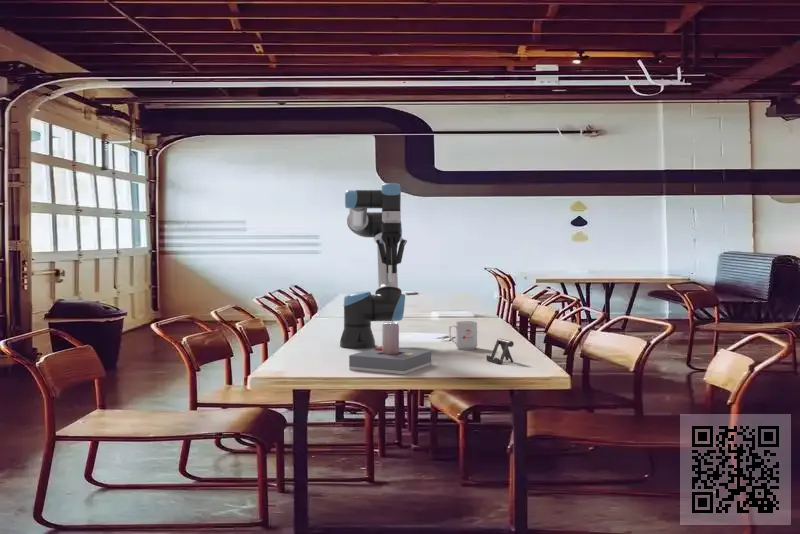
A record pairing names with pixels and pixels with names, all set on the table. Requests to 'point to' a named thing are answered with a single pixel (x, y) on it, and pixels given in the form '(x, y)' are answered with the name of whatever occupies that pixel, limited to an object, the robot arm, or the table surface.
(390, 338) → the beverage can
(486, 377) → the table surface
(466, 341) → the mug
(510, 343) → the portable electronic device stand
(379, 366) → the socket
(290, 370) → the table surface
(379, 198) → the robot arm
